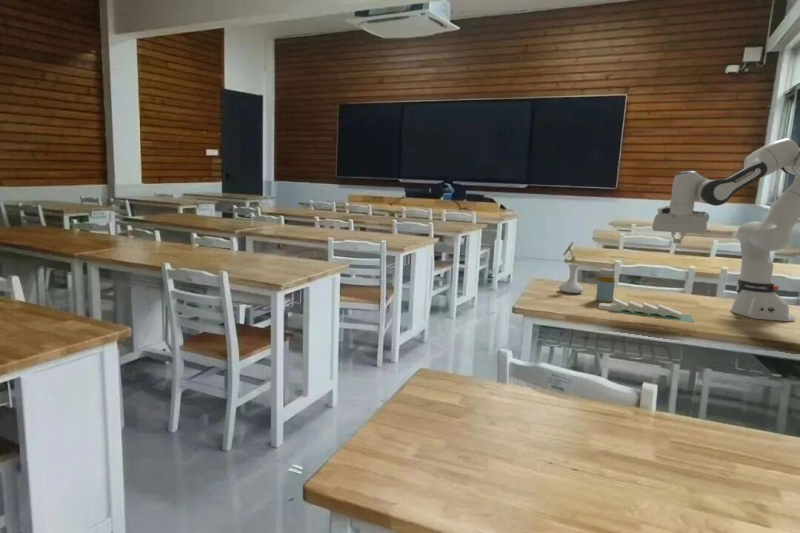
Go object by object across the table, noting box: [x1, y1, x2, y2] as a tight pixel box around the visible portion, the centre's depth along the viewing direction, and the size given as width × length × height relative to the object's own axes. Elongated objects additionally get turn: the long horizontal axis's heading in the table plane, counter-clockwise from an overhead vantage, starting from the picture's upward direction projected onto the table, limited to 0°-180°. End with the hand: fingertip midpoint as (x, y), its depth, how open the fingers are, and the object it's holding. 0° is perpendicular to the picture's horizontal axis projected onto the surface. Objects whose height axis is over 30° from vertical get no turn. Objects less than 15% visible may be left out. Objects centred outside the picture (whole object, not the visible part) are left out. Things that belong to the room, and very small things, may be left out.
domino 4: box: [656, 303, 683, 319], centre depth 215 cm, size 2×5×9 cm
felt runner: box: [614, 308, 695, 324], centre depth 217 cm, size 29×12×1 cm, turn 66°
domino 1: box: [611, 296, 635, 313], centre depth 221 cm, size 2×5×9 cm
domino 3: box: [641, 301, 667, 317], centre depth 217 cm, size 2×5×9 cm
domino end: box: [598, 302, 622, 312], centre depth 224 cm, size 2×5×9 cm
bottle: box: [595, 267, 616, 304], centre depth 236 cm, size 7×7×15 cm
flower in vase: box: [558, 241, 584, 294], centre depth 253 cm, size 13×11×25 cm
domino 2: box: [628, 300, 651, 315], centre depth 219 cm, size 2×5×9 cm
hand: (677, 243), depth 222 cm, fingers closed
